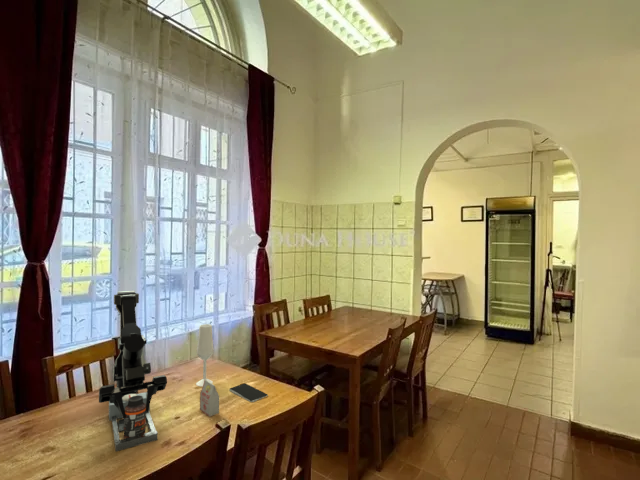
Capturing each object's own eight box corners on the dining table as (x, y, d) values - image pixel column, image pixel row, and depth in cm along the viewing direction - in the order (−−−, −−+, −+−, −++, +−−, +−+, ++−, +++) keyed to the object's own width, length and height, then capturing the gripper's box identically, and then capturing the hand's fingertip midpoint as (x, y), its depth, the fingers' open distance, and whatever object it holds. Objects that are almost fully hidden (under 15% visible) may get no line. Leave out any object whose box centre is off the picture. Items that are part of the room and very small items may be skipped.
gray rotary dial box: (108, 414, 120) (109, 397, 120) (147, 405, 126) (147, 389, 126) (109, 420, 115) (109, 403, 115) (149, 411, 122) (150, 394, 122)
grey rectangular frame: (111, 421, 115) (111, 414, 115) (148, 412, 121) (148, 406, 121) (115, 451, 99) (115, 444, 99) (157, 440, 105) (157, 433, 105)
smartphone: (251, 401, 130) (228, 388, 140) (251, 404, 130) (228, 391, 140) (268, 394, 136) (245, 382, 146) (268, 397, 136) (245, 385, 146)
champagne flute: (196, 380, 149) (197, 324, 149) (212, 379, 151) (213, 323, 151) (195, 387, 143) (196, 328, 143) (213, 385, 145) (214, 327, 145)
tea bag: (209, 406, 127) (210, 378, 127) (218, 413, 122) (219, 384, 122) (199, 409, 124) (200, 381, 124) (209, 416, 119) (209, 387, 119)
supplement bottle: (136, 441, 104) (137, 403, 104) (118, 439, 105) (119, 401, 105) (149, 431, 110) (150, 394, 110) (133, 428, 111) (133, 392, 111)
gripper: (99, 360, 106) (100, 412, 96) (166, 350, 116) (172, 396, 107) (98, 377, 112) (98, 428, 103) (161, 366, 122) (167, 411, 113)
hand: (135, 415), depth 106 cm, fingers closed on supplement bottle, 6 cm apart
